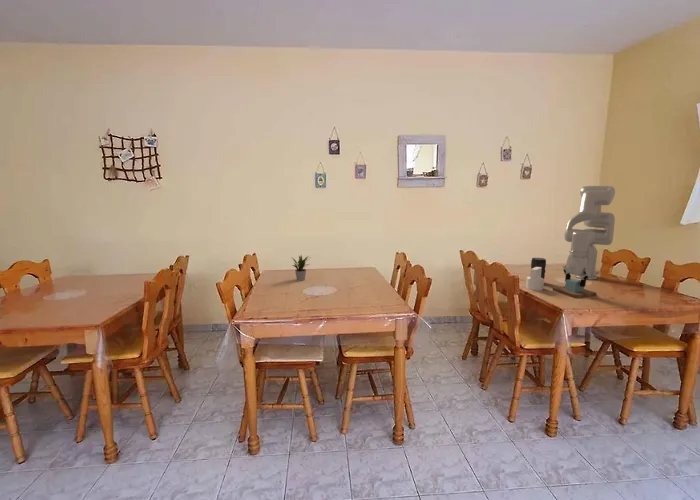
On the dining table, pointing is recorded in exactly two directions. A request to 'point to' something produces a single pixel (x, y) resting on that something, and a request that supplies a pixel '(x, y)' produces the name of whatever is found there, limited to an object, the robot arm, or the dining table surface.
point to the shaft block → (574, 294)
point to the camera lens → (539, 265)
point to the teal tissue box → (573, 285)
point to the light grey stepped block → (535, 279)
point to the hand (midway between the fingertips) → (574, 284)
